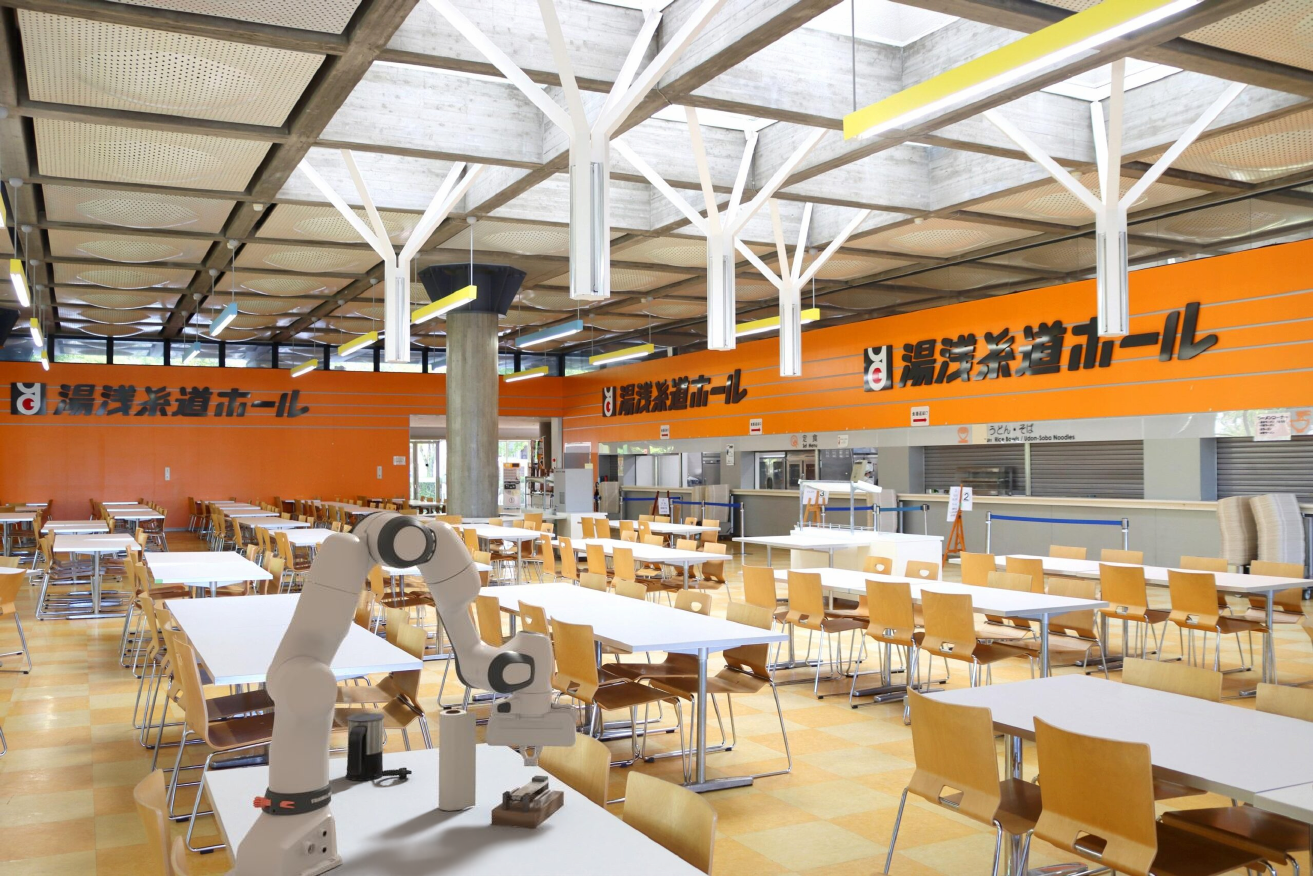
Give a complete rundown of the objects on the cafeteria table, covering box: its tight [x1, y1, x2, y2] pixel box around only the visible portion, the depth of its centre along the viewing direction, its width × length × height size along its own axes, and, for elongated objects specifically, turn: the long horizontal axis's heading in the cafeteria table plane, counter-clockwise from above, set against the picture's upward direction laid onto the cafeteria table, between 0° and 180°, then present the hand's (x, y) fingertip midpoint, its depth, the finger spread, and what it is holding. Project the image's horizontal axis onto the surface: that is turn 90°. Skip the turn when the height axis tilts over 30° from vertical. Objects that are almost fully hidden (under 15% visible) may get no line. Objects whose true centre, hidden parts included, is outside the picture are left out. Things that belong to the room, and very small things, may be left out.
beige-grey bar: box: [508, 775, 550, 802], centre depth 224 cm, size 16×3×2 cm, turn 164°
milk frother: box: [345, 712, 412, 781], centre depth 254 cm, size 14×16×15 cm
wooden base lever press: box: [490, 781, 565, 829], centre depth 224 cm, size 17×10×6 cm, turn 164°
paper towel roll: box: [438, 709, 477, 812], centre depth 229 cm, size 7×6×21 cm
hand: (530, 765), depth 228 cm, fingers closed
